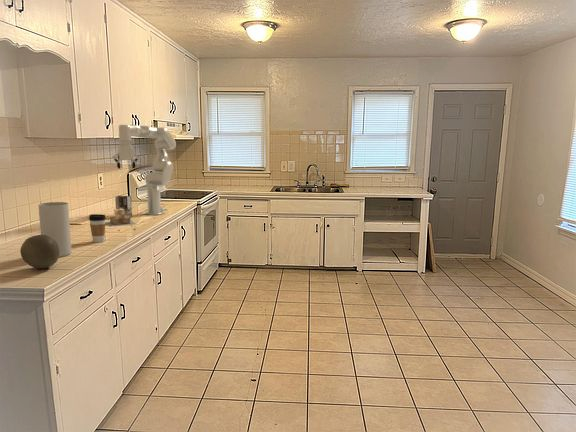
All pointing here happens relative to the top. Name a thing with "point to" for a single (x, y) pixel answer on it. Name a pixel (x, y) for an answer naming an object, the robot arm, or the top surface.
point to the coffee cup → (97, 227)
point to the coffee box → (124, 204)
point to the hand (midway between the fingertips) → (126, 168)
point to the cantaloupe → (40, 251)
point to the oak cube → (119, 213)
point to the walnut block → (119, 220)
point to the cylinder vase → (56, 224)
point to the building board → (119, 225)
